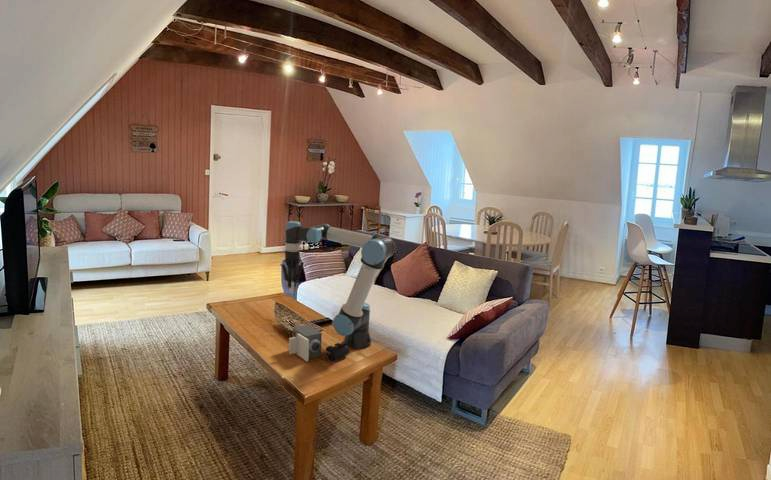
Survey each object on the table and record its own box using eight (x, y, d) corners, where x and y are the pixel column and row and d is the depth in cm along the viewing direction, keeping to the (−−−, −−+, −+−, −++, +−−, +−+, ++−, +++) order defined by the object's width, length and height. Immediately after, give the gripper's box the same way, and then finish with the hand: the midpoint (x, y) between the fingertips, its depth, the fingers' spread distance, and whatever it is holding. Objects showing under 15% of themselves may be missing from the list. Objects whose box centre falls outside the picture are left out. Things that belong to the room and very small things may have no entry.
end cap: (334, 363, 242) (335, 350, 241) (324, 359, 247) (325, 346, 246) (348, 357, 250) (349, 345, 249) (339, 353, 254) (339, 341, 253)
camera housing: (307, 345, 262) (308, 324, 259) (323, 356, 249) (323, 334, 247) (292, 349, 256) (292, 327, 254) (307, 360, 243) (308, 337, 241)
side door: (298, 353, 250) (299, 333, 248) (308, 360, 242) (309, 339, 240) (288, 356, 246) (289, 335, 244) (298, 363, 238) (298, 342, 237)
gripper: (300, 248, 267) (299, 289, 272) (278, 249, 259) (277, 292, 264) (306, 250, 262) (305, 293, 266) (284, 252, 254) (283, 296, 258)
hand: (291, 293), depth 265 cm, fingers closed
